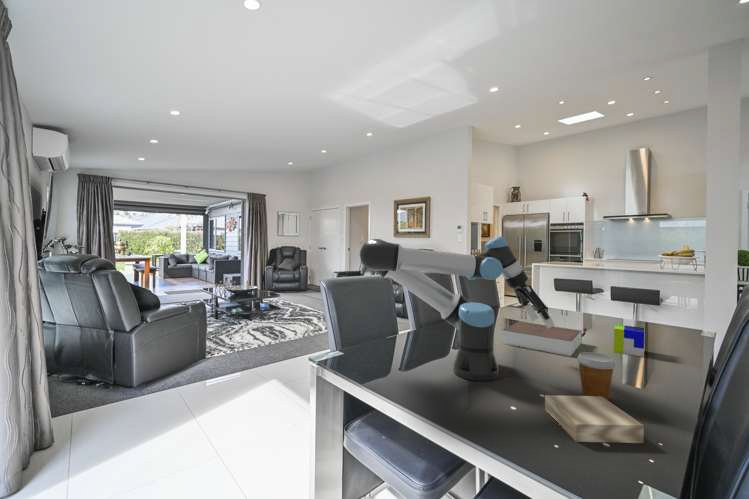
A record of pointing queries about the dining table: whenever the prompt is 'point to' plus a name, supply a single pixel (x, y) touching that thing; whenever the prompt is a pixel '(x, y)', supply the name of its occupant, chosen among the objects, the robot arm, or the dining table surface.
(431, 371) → the dining table surface
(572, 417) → the wooden base block
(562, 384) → the dining table surface
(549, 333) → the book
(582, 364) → the disposable coffee cup
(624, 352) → the puzzle toy
